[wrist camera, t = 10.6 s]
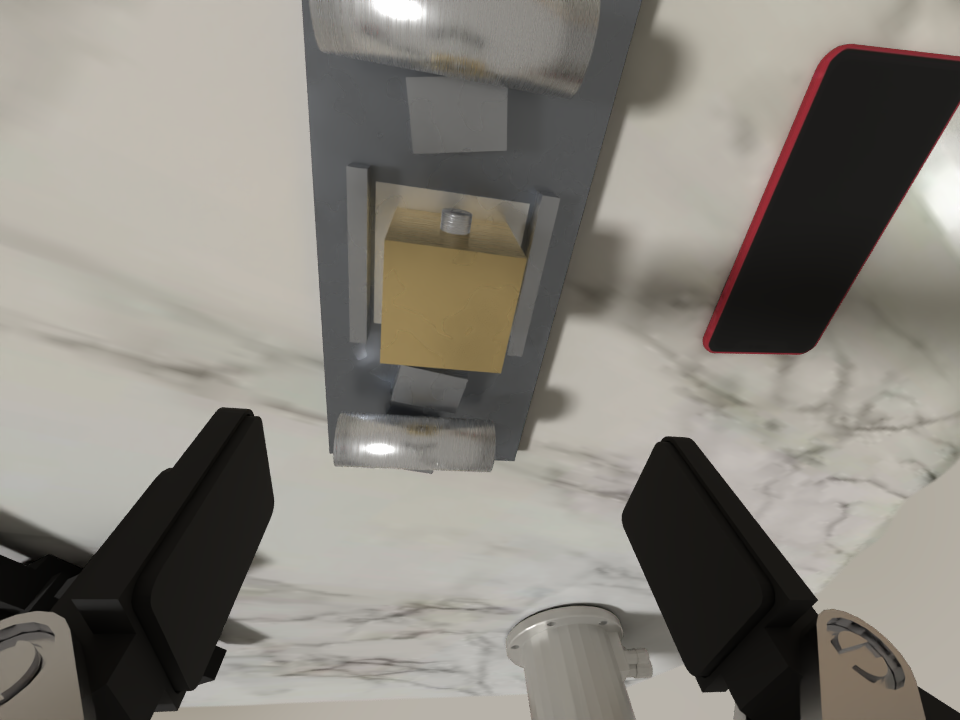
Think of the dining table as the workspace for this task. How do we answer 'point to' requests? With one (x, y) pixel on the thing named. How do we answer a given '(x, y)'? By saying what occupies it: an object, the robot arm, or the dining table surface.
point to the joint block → (449, 290)
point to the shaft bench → (449, 194)
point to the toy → (53, 593)
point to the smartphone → (832, 194)
